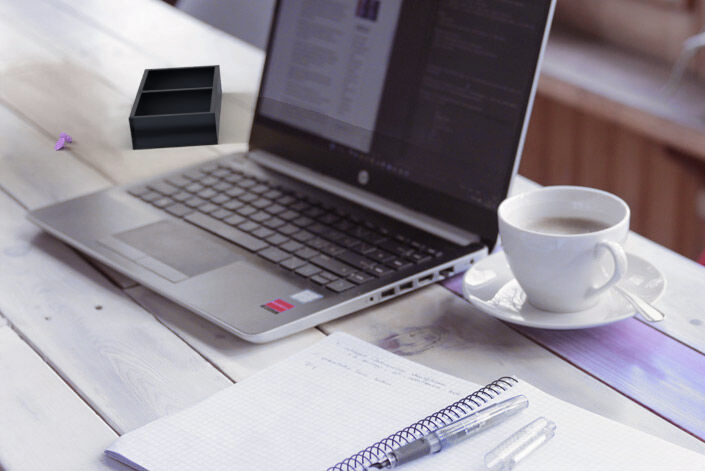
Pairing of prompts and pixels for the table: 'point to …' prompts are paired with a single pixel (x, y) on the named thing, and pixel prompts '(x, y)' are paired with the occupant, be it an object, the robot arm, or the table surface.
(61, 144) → the purple lumpy piece
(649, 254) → the table surface
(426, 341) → the table surface
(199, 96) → the open black box
